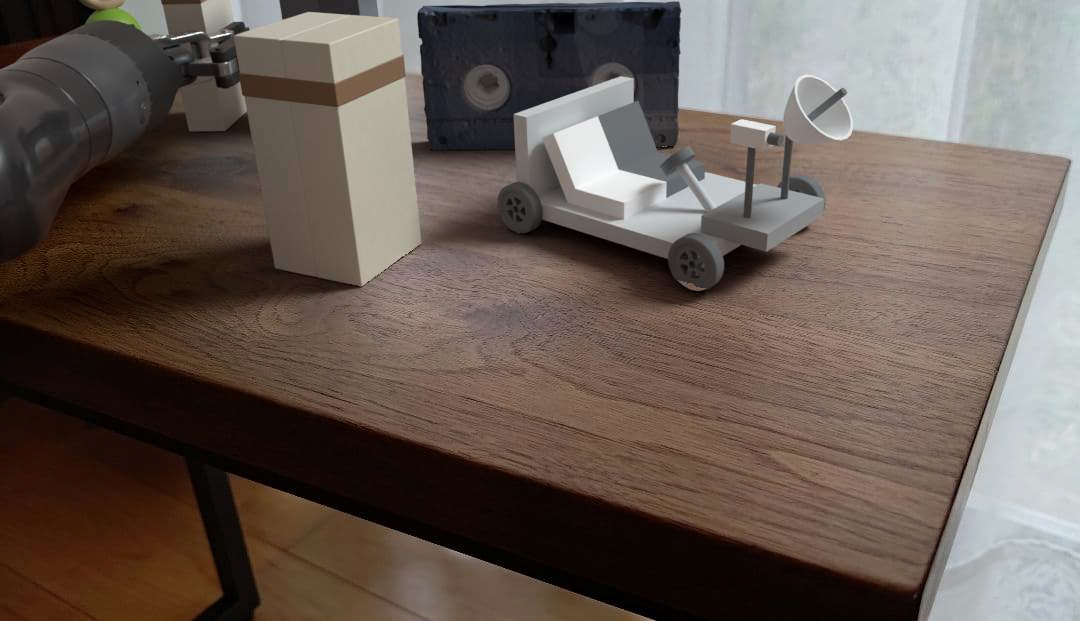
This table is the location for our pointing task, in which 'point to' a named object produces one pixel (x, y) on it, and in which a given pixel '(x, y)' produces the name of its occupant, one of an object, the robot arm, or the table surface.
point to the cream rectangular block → (207, 107)
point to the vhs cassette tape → (542, 64)
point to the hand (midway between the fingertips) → (187, 36)
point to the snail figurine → (109, 11)
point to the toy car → (664, 178)
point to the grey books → (328, 7)
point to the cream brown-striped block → (331, 143)
